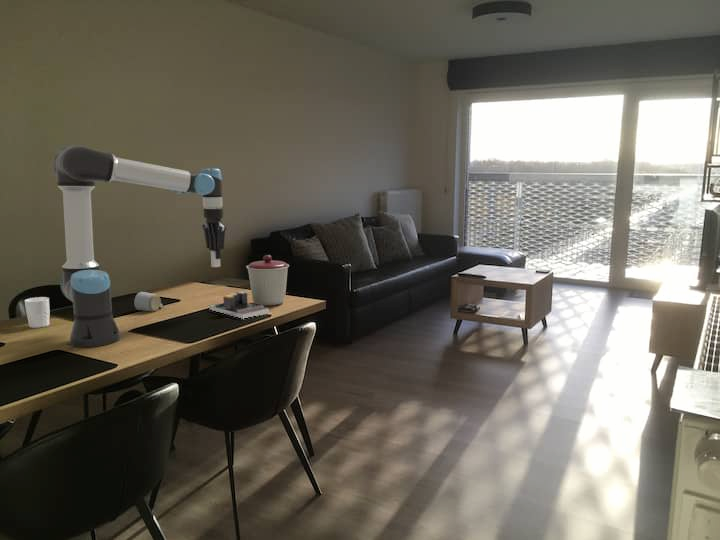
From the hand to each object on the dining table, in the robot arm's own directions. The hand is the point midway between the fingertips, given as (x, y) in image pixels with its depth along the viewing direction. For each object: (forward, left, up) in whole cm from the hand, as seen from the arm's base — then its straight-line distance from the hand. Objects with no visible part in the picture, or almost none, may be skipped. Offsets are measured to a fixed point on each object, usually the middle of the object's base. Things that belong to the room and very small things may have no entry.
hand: (216, 266), depth 229 cm
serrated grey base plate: (+5, -8, -18) cm, 21 cm away
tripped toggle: (0, -8, -16) cm, 18 cm away
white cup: (-56, +32, -19) cm, 68 cm away
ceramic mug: (-17, +23, -19) cm, 34 cm away
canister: (+23, -5, -19) cm, 30 cm away
